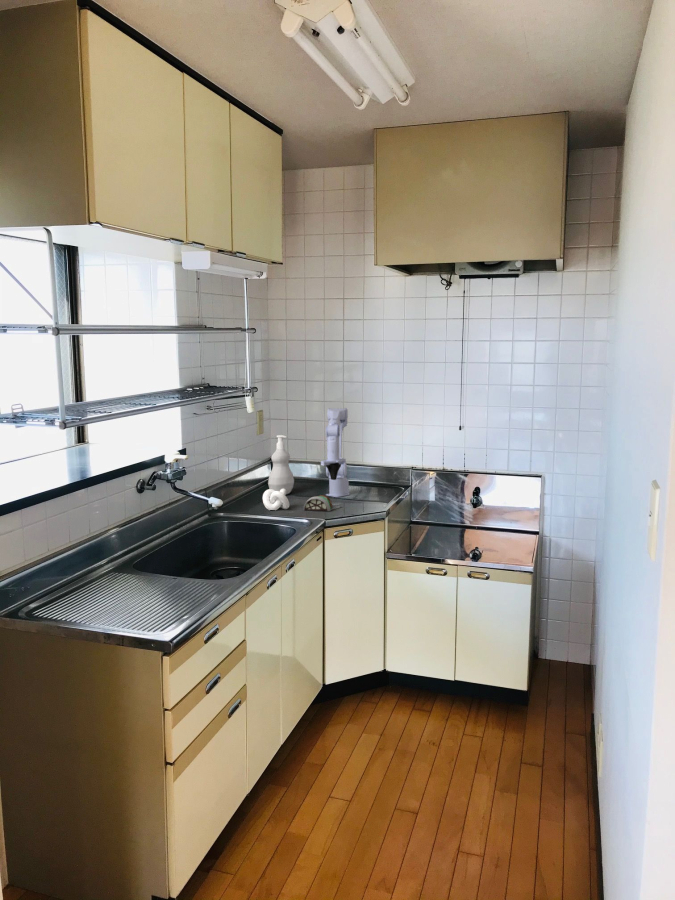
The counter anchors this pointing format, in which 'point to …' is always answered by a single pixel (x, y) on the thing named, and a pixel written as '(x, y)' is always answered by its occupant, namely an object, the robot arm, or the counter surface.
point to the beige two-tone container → (318, 503)
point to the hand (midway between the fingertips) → (333, 479)
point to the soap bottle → (281, 469)
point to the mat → (333, 507)
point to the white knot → (275, 499)
